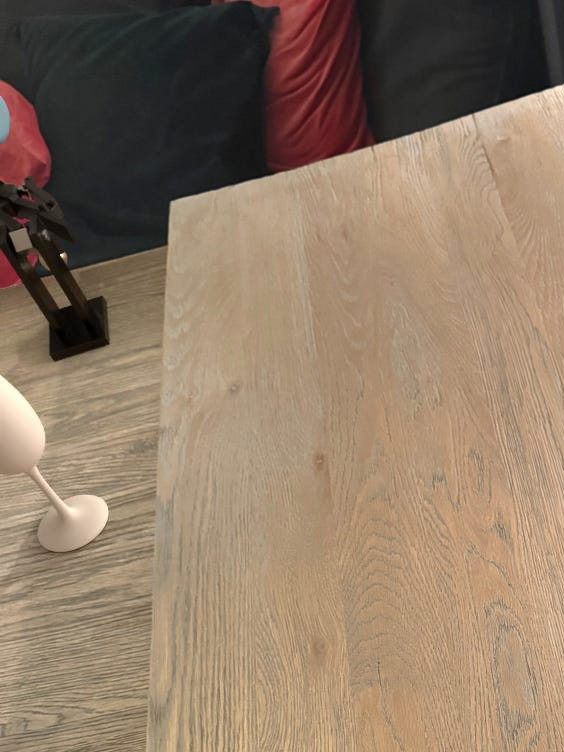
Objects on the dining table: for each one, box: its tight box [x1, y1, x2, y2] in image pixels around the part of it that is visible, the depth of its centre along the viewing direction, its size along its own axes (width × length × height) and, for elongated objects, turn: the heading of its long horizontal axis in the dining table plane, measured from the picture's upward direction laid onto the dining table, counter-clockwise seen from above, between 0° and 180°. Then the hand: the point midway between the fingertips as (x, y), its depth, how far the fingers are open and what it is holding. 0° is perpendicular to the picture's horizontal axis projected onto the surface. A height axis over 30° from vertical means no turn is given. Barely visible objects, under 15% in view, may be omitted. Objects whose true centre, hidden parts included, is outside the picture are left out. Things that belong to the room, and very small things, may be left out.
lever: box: [9, 228, 68, 271], centre depth 126 cm, size 13×4×4 cm
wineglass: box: [0, 374, 109, 553], centre depth 102 cm, size 9×9×21 cm
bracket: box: [0, 215, 110, 362], centre depth 126 cm, size 10×8×16 cm
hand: (64, 239), depth 126 cm, fingers closed
